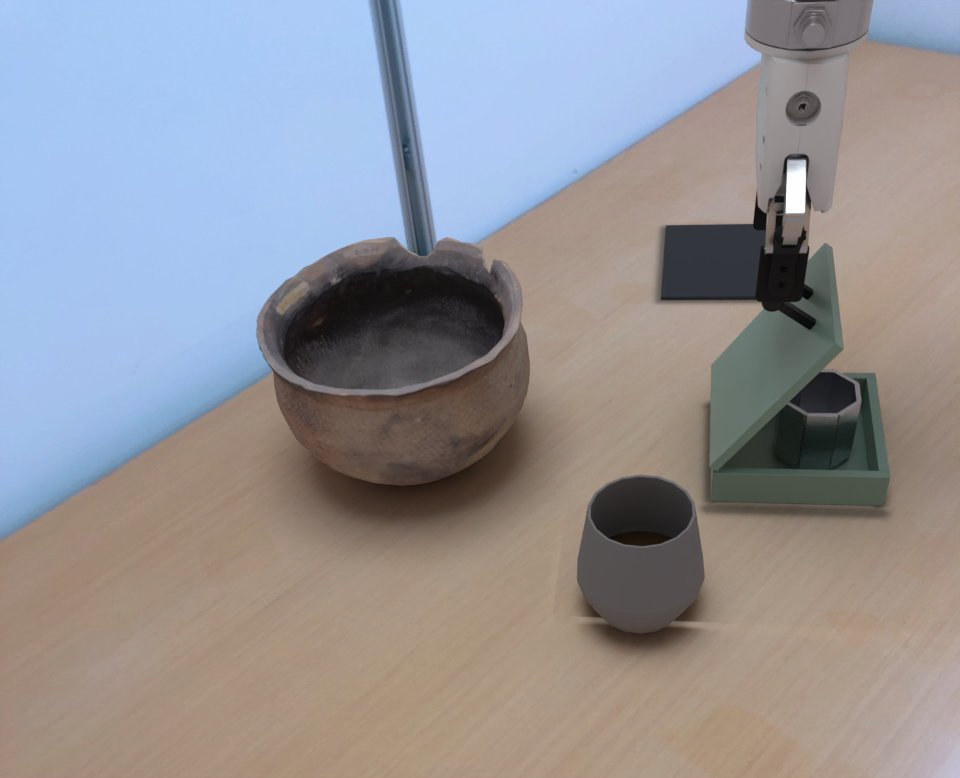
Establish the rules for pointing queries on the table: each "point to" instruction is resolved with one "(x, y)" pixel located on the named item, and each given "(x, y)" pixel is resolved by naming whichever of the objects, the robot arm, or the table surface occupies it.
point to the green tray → (772, 481)
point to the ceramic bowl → (398, 358)
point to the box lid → (774, 359)
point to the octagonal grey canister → (819, 423)
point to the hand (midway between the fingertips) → (776, 262)
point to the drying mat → (711, 262)
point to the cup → (640, 553)
